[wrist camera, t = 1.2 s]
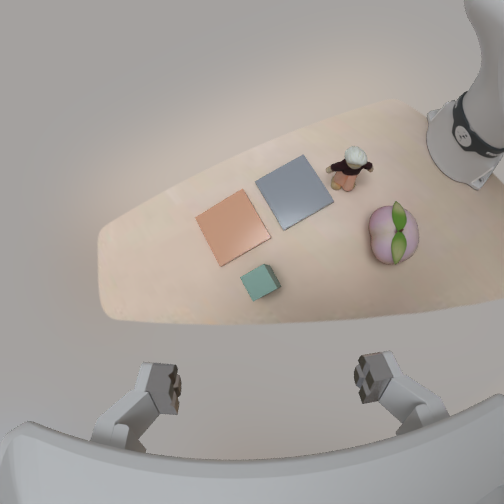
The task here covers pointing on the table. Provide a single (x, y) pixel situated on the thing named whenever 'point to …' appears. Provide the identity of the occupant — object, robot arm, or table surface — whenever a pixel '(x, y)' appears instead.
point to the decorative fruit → (393, 234)
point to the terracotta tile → (232, 227)
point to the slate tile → (294, 192)
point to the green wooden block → (260, 281)
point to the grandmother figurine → (349, 169)
